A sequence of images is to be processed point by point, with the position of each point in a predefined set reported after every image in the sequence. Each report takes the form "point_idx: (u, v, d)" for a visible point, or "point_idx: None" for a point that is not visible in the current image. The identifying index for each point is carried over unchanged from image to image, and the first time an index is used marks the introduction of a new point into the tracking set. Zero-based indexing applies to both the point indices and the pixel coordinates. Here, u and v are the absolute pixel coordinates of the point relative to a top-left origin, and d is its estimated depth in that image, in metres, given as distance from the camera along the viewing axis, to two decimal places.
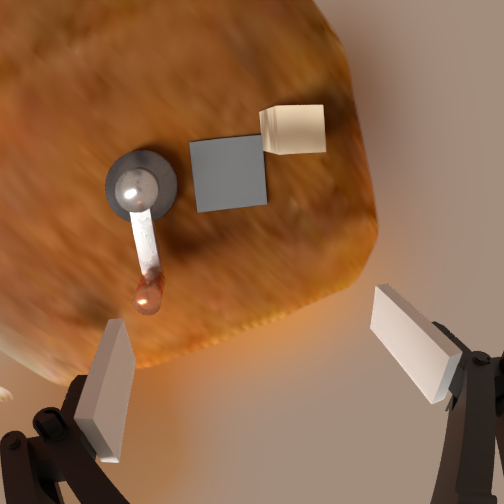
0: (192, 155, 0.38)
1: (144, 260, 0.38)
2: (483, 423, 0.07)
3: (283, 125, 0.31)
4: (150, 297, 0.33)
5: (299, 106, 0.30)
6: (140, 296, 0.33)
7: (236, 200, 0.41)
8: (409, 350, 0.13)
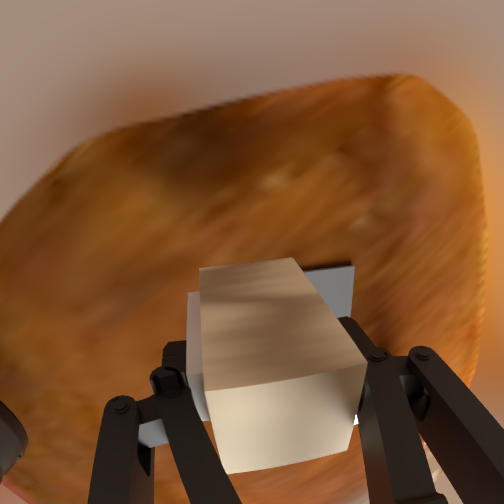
0: None
1: None
2: (401, 423, 0.08)
3: (276, 459, 0.10)
4: None
5: (220, 440, 0.10)
6: None
7: (343, 305, 0.29)
8: None
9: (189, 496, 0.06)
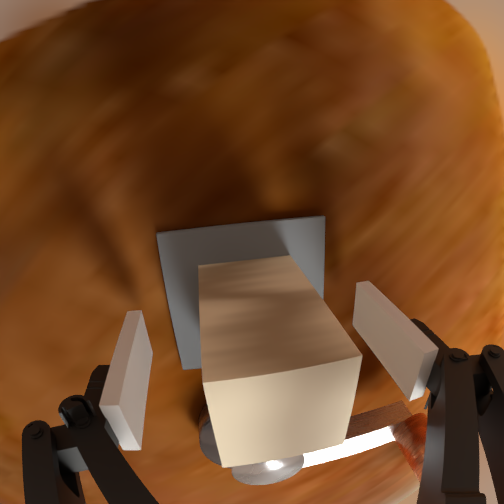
0: None
1: (379, 441, 0.20)
2: (465, 421, 0.07)
3: (273, 452, 0.11)
4: None
5: (218, 433, 0.10)
6: None
7: None
8: (387, 346, 0.14)
9: None
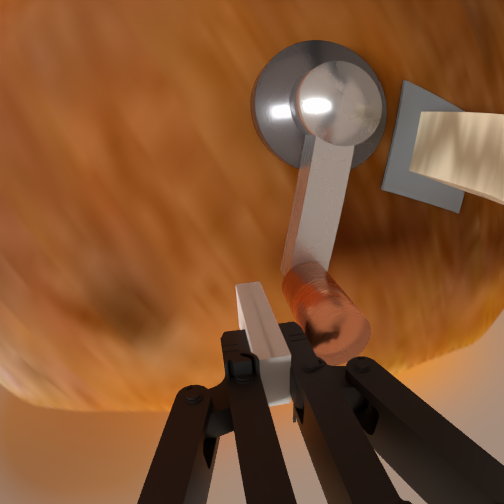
0: (404, 100, 0.21)
1: (306, 243, 0.19)
2: (348, 434, 0.08)
3: None
4: (356, 329, 0.14)
5: None
6: (337, 325, 0.14)
7: (433, 194, 0.24)
8: None
9: (243, 481, 0.07)
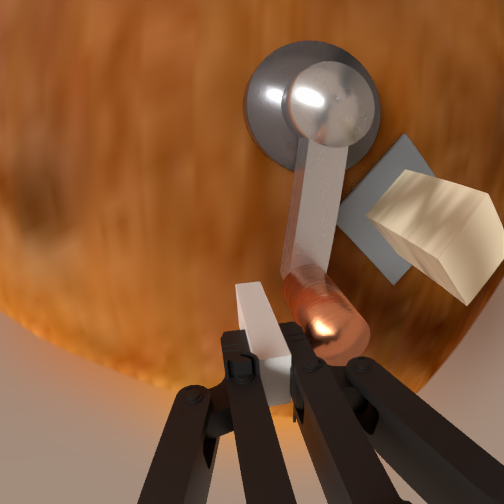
0: (394, 150, 0.22)
1: (304, 246, 0.19)
2: (348, 434, 0.08)
3: (473, 227, 0.15)
4: (355, 331, 0.14)
5: (499, 224, 0.15)
6: (336, 328, 0.14)
7: (377, 251, 0.25)
8: None
9: (243, 481, 0.07)
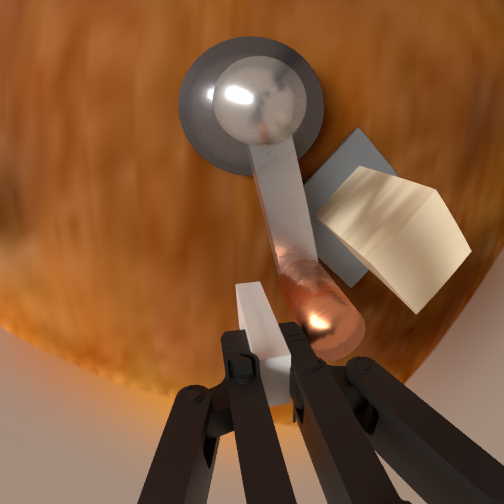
0: (346, 145, 0.22)
1: (285, 245, 0.19)
2: (348, 434, 0.08)
3: (417, 227, 0.14)
4: (346, 322, 0.14)
5: (454, 223, 0.15)
6: (325, 326, 0.14)
7: (330, 252, 0.24)
8: None
9: (244, 481, 0.07)
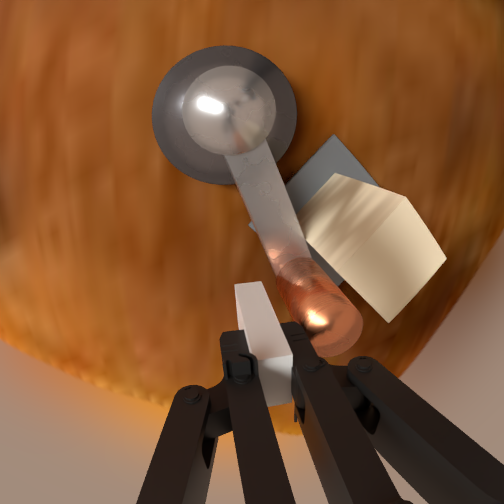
0: (321, 152, 0.22)
1: (277, 247, 0.19)
2: (349, 434, 0.08)
3: (386, 235, 0.15)
4: (342, 317, 0.15)
5: (426, 231, 0.15)
6: (321, 323, 0.14)
7: None
8: None
9: (242, 481, 0.07)
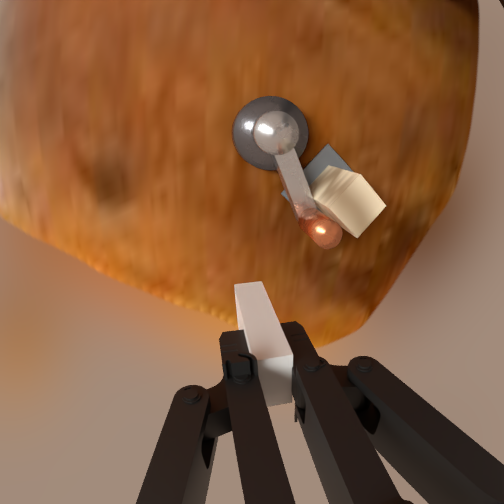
0: (320, 154, 0.40)
1: (298, 202, 0.37)
2: (350, 434, 0.08)
3: (351, 191, 0.33)
4: (332, 227, 0.32)
5: (372, 191, 0.33)
6: (322, 229, 0.32)
7: None
8: None
9: (242, 481, 0.07)
